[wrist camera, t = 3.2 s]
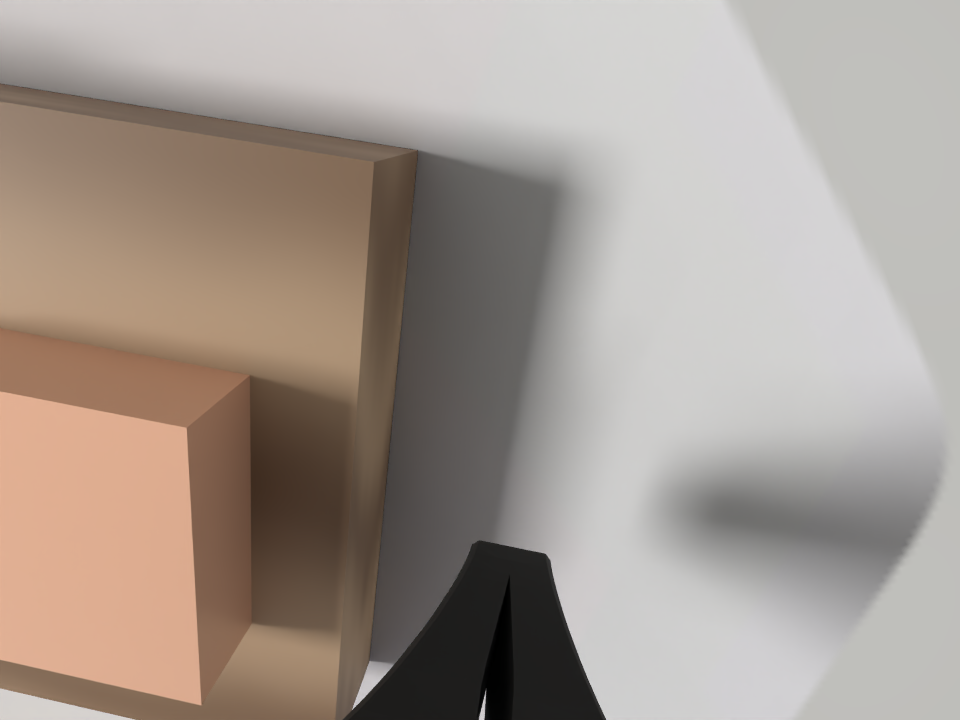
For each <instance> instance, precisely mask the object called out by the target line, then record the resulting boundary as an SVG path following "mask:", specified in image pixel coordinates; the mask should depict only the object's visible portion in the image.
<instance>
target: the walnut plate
mask: <svg viewBox="0 0 960 720" xmlns="http://www.w3.org/2000/svg"><path fill="white" fill-rule="evenodd" d="M417 156H418V150H412V149H406V148H400V147H393V146H387V145H381V144H375V143H368V142H362V141H356V140H350V139H343V138H337V137H331V136H325V135H318V134H312V133H306V132H299V131H293V130H287V129H281V128H274V127H268V126H262V125H256V124H249V123H243V122H237V121H231V120H224V119H218V118H212V117H206V116H199V115H193V114H187V113H180V112H174V111H168V110H162V109H155V108H149V107H143V106H137V105H130V104H124V103H118V102H112V101H105V100H99V99H93V98H86V97H80V96H74V95H68V94H61V93H55V92H49V91H43V90H36V89H30V88H24V87H18V86H11V85H5V84H0V328H2V329H8V330H13V331H18V332H23V333H29V334H34V335H39V336H45V337H50V338H55V339H61V340H66V341H71V342H77V343H82V344H87V345H92V346H98V347H103V348H108V349H114V350H119V351H124V352H130V353H135V354H140V355H146V356H151V357H156V358H161V359H167V360H172V361H177V362H183V363H188V364H193V365H199V366H204V367H209V368H214V369H220V370H225V371H230V372H236V373H241V374H246V375H250V452H251V599H252V624H251V626H250V627H249V629H248V631H247V632H246V634H245V635H244V637H243V639H242V640H241V642H240V644H239V645H238V647H237V648H236V650H235V652H234V653H233V655H232V657H231V658H230V660H229V661H228V663H227V665H226V666H225V668H224V670H223V671H222V673H221V674H220V676H219V678H218V679H217V681H216V683H215V684H214V686H213V687H212V689H211V691H210V692H209V694H208V696H207V697H206V699H205V700H204V702H203V704H202V705H197V704H193V703H188V702H184V701H180V700H175V699H171V698H166V697H162V696H158V695H153V694H149V693H144V692H140V691H136V690H131V689H127V688H122V687H118V686H114V685H109V684H105V683H100V682H96V681H92V680H87V679H83V678H78V677H74V676H70V675H65V674H61V673H57V672H52V671H48V670H43V669H39V668H35V667H30V666H26V665H21V664H17V663H13V662H8V661H4V660H0V688H1V689H6V690H10V691H14V692H19V693H23V694H27V695H32V696H36V697H40V698H45V699H49V700H53V701H58V702H62V703H66V704H71V705H75V706H79V707H84V708H88V709H92V710H97V711H101V712H105V713H110V714H114V715H118V716H123V717H127V718H131V719H136V720H343V719H344V718H345V717H346V716H347V715H348V714H349V713H350V712H351V711H352V708H353V705H354V702H355V700H356V697H357V694H358V691H359V689H360V686H361V683H362V680H363V678H364V675H365V672H366V669H367V666H368V664H369V657H370V647H371V636H372V626H373V615H374V605H375V595H376V584H377V574H378V563H379V553H380V542H381V532H382V521H383V511H384V501H385V490H386V480H387V469H388V459H389V448H390V438H391V428H392V417H393V407H394V396H395V386H396V375H397V365H398V355H399V344H400V334H401V323H402V313H403V302H404V292H405V281H406V271H407V261H408V250H409V240H410V229H411V219H412V208H413V198H414V188H415V177H416V167H417Z"/></svg>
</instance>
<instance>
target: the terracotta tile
mask: <svg viewBox="0 0 960 720" xmlns="http://www.w3.org/2000/svg"><path fill="white" fill-rule="evenodd" d="M251 624H252V599H251V452H250V375H246V374H241V373H236V372H230V371H225V370H220V369H214V368H209V367H204V366H199V365H193V364H188V363H183V362H177V361H172V360H167V359H161V358H156V357H151V356H146V355H140V354H135V353H130V352H124V351H119V350H114V349H108V348H103V347H98V346H92V345H87V344H82V343H77V342H71V341H66V340H61V339H55V338H50V337H45V336H39V335H34V334H29V333H23V332H18V331H13V330H8V329H2V328H0V660H4V661H8V662H13V663H17V664H21V665H26V666H30V667H35V668H39V669H43V670H48V671H52V672H57V673H61V674H65V675H70V676H74V677H78V678H83V679H87V680H92V681H96V682H100V683H105V684H109V685H114V686H118V687H122V688H127V689H131V690H136V691H140V692H144V693H149V694H153V695H158V696H162V697H166V698H171V699H175V700H180V701H184V702H188V703H193V704H197V705H202V704H203V702H204V700H205V699H206V697H207V696H208V694H209V692H210V691H211V689H212V687H213V686H214V684H215V683H216V681H217V679H218V678H219V676H220V674H221V673H222V671H223V670H224V668H225V666H226V665H227V663H228V661H229V660H230V658H231V657H232V655H233V653H234V652H235V650H236V648H237V647H238V645H239V644H240V642H241V640H242V639H243V637H244V635H245V634H246V632H247V631H248V629H249V627H250V626H251Z"/></svg>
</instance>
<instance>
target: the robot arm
mask: <svg viewBox="0 0 960 720" xmlns="http://www.w3.org/2000/svg"><path fill="white" fill-rule="evenodd" d="M485 691H486V704H485V720H606V718H605V716H604V714H603V712H602V710H601V708H600V705H599V703H598V701H597V699H596V696H595V694H594V692H593V690H592V687H591V685H590V683H589V681H588V678H587V676H586V673H585V671H584V668H583V666H582V664H581V661H580V658H579V656H578V653H577V650H576V648H575V645H574V642H573V640H572V637H571V634H570V631H569V629H568V626H567V623H566V620H565V617H564V614H563V610H562V607H561V604H560V601H559V597H558V594H557V590H556V586H555V582H554V578H553V573H552V569H551V562H550V559H549V558H548V557H547V555H546V554H544V553H539V552H534V551H529V550H524V549H519V548H514V547H509V546H504V545H499V544H495V543H490V542H485V541H480V540H479V541H477V542H475V543H474V544H472V546H471V549H470V552H469V555H468V557H467V559H466V561H465V564H464V565H463V567H462V569H461V571H460V573H459V575H458V577H457V578H456V580H455V582H454V583H453V585H452V587H451V588H450V590H449V592H448V593H447V595H446V596H445V598H444V599H443V601H442V602H441V604H440V605H439V607H438V608H437V610H436V611H435V613H434V614H433V616H432V617H431V618H430V620H429V621H428V623H427V624H426V625H425V627H424V628H423V629H422V631H421V632H420V633H419V634H418V636H417V637H416V638H415V639H414V641H413V642H412V643H411V645H410V646H409V647H408V648H407V650H406V651H405V652H404V654H403V655H402V656H401V657H400V659H399V660H398V661H397V662H396V663H395V664H394V666H393V667H392V668H391V669H390V670H389V671H388V673H387V674H386V675H385V676H384V677H383V678H382V679H381V680H380V682H379V683H378V684H377V685H376V686H375V687H374V688H373V689H372V690H371V691H370V692H369V693H368V695H367V696H366V697H365V698H364V699H363V700H362V701H361V702H360V703H359V704H358V705H357V706H356V707H355V708H354V709H353V710H352V711H351V712H350V713H349V714H348V715H347V716H346V717H345V718H344V719H343V720H479V716H480V712H481V708H482V704H483V699H484V695H485Z"/></svg>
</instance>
